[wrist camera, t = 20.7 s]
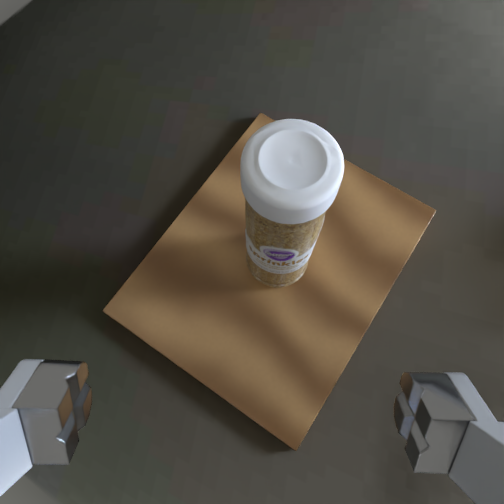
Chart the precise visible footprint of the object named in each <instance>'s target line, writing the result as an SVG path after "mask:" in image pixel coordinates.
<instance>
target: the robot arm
mask: <svg viewBox="0 0 504 504" xmlns="http://www.w3.org/2000/svg"><path fill="white" fill-rule="evenodd" d="M88 375H89V372H88V367H87V363H85V362H82V361H64V360H46V359H45V360H38V359H24V360H22V361H20V362H19V363H18V365H17V366H16V367H15V369H14V370H13V372H12V373H11V374H10V376H9V377H8V379H7V380H6V381H5V383H4V384H3V386H2V387H1V388H0V496H1V495H2V494H3V493H4V492H6V491H7V490H8V489H9V488H10V487H11V486H12V485H13V484H14V483H15V482H16V481H17V480H19V479H20V478H21V477H22V476H23V475H24V474H25V473H26V472H27V471H28V470H30V469H31V468H32V465H68V464H70V461H71V459H72V456H73V454H74V452H75V449H76V447H77V445H78V442H79V436H78V431H79V430H80V429H82V428H83V427H84V426H85V425H86V423H87V420H88V418H89V415H90V410H91V405H92V391H91V387H90V386H89V385H88V384H87V383H86V382H85V381H86V379H87V377H88ZM400 385H401V388H402V390H403V391H402V392H400V393H399V394H398V395H397V396H396V398H395V403H394V420H395V424H396V427H397V430H398V433H399V434H400V435H401V436H402V437H403V438H405V439H406V440H407V443H406V446H405V451H406V453H407V456H408V458H409V461H410V463H411V466H412V468H413V471H414V473H433V474H449V477H450V478H451V479H452V480H453V481H454V482H455V483H456V484H457V485H458V486H459V487H460V488H461V489H462V490H463V491H464V492H465V493H466V494H467V495H468V496H469V498H470V499H471V500H472V501H473V502H474V503H475V504H504V422H498V421H497V420H496V418H495V417H494V415H493V414H492V412H491V411H490V409H489V408H488V407H487V405H486V404H485V402H484V401H483V399H482V398H481V396H480V395H479V393H478V392H477V390H476V389H475V387H474V386H473V384H472V383H471V381H470V380H469V378H468V377H467V375H465V374H464V373H459V372H443V373H439V372H404V373H403V375H402V376H401V380H400Z"/></svg>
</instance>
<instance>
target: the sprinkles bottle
mask: <svg viewBox="0 0 504 504" xmlns="http://www.w3.org/2000/svg"><path fill="white" fill-rule="evenodd" d="M343 174H344V158H343V154H342V151H341V149H340V147H339V145H338V143H337V142H336V140H335V139H334V138H333V137H332V136H331V135H330V134H329V133H328V132H327V131H326V130H324V129H323V128H321V127H320V126H318V125H316V124H314V123H311V122H308V121H305V120H300V119H283V120H278V121H274V122H271V123H269V124H266V125H265V126H263V127H261V128H260V129H258V130H257V131H256V132H255V133H254V134H253V135H252V136H251V137H250V138H249V140H248V141H247V143H246V145H245V147H244V149H243V152H242V155H241V165H240V176H241V188H242V191H243V194H244V196H245V218H246V229H245V233H246V248H247V252H246V262H247V267H248V269H249V271H250V273H251V274H252V276H253V277H254V278H255V279H256V280H258V281H259V282H261V283H262V284H265V285H267V286H270V287H275V288H280V287H286V286H289V285H291V284H293V283H295V282H296V281H298V280H299V279H300V278H301V277H302V275H303V274H304V273H305V270H306V268H307V265H308V260H309V258H310V256H311V254H312V251H313V248H314V246H315V243H316V241H317V238H318V236H319V233H320V230H321V228H322V225H323V222H324V217H325V213H326V210H327V209H328V208H329V207H330V206H331V204H332V203H333V201H334V200H335V197H336V195H337V193H338V190H339V187H340V184H341V181H342V178H343Z"/></svg>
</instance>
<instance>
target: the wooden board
mask: <svg viewBox="0 0 504 504" xmlns="http://www.w3.org/2000/svg"><path fill="white" fill-rule="evenodd" d="M274 121H275V120H273V119H271V118H269V117H267V116H265V115H264V114H262V113H260V114H259V115H258V116H257V118H256V119H255V120H254V121H253V123H252V124H251V125H250V126H249V128H248V129H247V130H246V131H245V133H244V134H243V135H242V136H241V138H240V139H239V140H238V141H237V143H236V144H235V145H234V146H233V148H232V149H231V150H230V151H229V153H228V154H227V155H226V156H225V158H224V159H223V160H222V161H221V163H220V164H219V165H218V167H217V168H216V169H215V170H214V172H213V173H212V174H211V175H210V177H209V178H208V179H207V180H206V182H205V183H204V184H203V185H202V187H201V188H200V189H199V190H198V192H197V193H196V194H195V195H194V197H193V198H192V199H191V200H190V202H189V203H188V204H187V205H186V207H185V208H184V209H183V210H182V212H181V213H180V214H179V215H178V217H177V218H176V219H175V220H174V222H173V223H172V224H171V225H170V227H169V228H168V229H167V230H166V232H165V233H164V234H163V236H162V237H161V238H160V239H159V241H158V242H157V243H156V244H155V246H154V247H153V248H152V249H151V251H150V252H149V253H148V254H147V256H146V257H145V258H144V259H143V261H142V262H141V263H140V264H139V266H138V267H137V268H136V269H135V271H134V272H133V273H132V274H131V276H130V277H129V278H128V279H127V281H126V282H125V283H124V284H123V286H122V287H121V288H120V289H119V291H118V292H117V293H116V294H115V296H114V297H113V298H112V300H111V301H110V302H109V303H108V305H107V306H106V307H105V308H104V310H103V312H104V313H106V314H107V315H108V316H110V317H111V318H113V319H114V320H115V321H117V322H118V323H119V324H121V325H122V326H124V327H125V328H126V329H128V330H129V331H130V332H132V333H133V334H135V335H136V336H137V337H139V338H140V339H142V340H143V341H144V342H146V343H147V344H148V345H150V346H151V347H153V348H154V349H155V350H157V351H158V352H159V353H161V354H162V355H164V356H165V357H166V358H168V359H169V360H170V361H172V362H173V363H175V364H176V365H177V366H179V367H180V368H181V369H183V370H184V371H186V372H187V373H188V374H190V375H191V376H193V377H194V378H195V379H197V380H198V381H199V382H201V383H202V384H204V385H205V386H206V387H208V388H209V389H210V390H212V391H213V392H215V393H216V394H217V395H219V396H220V397H221V398H223V399H224V400H226V401H227V402H228V403H230V404H231V405H233V406H234V407H235V408H237V409H238V410H239V411H241V412H242V413H244V414H245V415H246V416H248V417H249V418H250V419H252V420H253V421H255V422H256V423H257V424H259V425H260V426H261V427H263V428H264V429H266V430H267V431H268V432H270V433H271V434H272V435H274V436H275V437H277V438H278V439H279V440H281V441H282V442H284V443H285V444H286V445H288V446H289V447H290V448H292V449H293V450H295V451H297V449H298V447H299V446H300V444H301V442H302V440H303V439H304V437H305V435H306V434H307V432H308V430H309V428H310V427H311V425H312V423H313V422H314V420H315V418H316V416H317V415H318V413H319V411H320V410H321V408H322V406H323V404H324V403H325V401H326V399H327V398H328V396H329V394H330V392H331V391H332V389H333V387H334V386H335V384H336V382H337V380H338V379H339V377H340V375H341V374H342V372H343V370H344V368H345V367H346V365H347V363H348V362H349V360H350V358H351V356H352V355H353V353H354V351H355V350H356V348H357V346H358V344H359V343H360V341H361V339H362V338H363V336H364V334H365V332H366V331H367V329H368V327H369V326H370V324H371V322H372V320H373V319H374V317H375V315H376V314H377V312H378V310H379V308H380V307H381V305H382V303H383V302H384V300H385V298H386V296H387V295H388V293H389V291H390V290H391V288H392V286H393V284H394V283H395V281H396V279H397V278H398V276H399V274H400V272H401V271H402V269H403V267H404V266H405V264H406V262H407V260H408V259H409V257H410V255H411V254H412V252H413V250H414V248H415V247H416V245H417V243H418V242H419V240H420V238H421V236H422V235H423V233H424V231H425V230H426V228H427V226H428V224H429V223H430V221H431V219H432V218H433V216H434V214H435V212H436V210H435V209H433V208H431V207H429V206H428V205H426V204H424V203H422V202H420V201H419V200H417V199H415V198H413V197H411V196H410V195H408V194H406V193H404V192H402V191H401V190H399V189H397V188H395V187H393V186H392V185H390V184H388V183H386V182H384V181H383V180H381V179H379V178H377V177H375V176H374V175H372V174H370V173H368V172H366V171H365V170H363V169H361V168H359V167H357V166H356V165H354V164H352V163H350V162H348V161H347V160H345V159H344V174H343V178H342V181H341V184H340V187H339V190H338V193H337V195H336V197H335V200H334V201H333V203H332V204H331V206H330V207H329V208H328V209H327V210H326V213H325V217H324V222H323V225H322V228H321V230H320V233H319V236H318V238H317V241H316V243H315V246H314V248H313V251H312V254H311V256H310V258H309V260H308V265H307V268H306V270H305V273H304V274H303V275H302V277H301V278H300V279H299V280H298V281H296V282H295V283H293V284H291V285H289V286H286V287H280V288H275V287H270V286H267V285H265V284H262V283H261V282H259V281H258V280H256V279H255V278H254V277H253V276H252V274H251V273H250V271H249V269H248V267H247V262H246V252H247V248H246V233H245V229H246V218H245V196H244V194H243V191H242V188H241V176H240V165H241V155H242V152H243V149H244V147H245V145H246V143H247V141H248V140H249V138H250V137H251V136H252V135H253V134H254V133H255V132H256V131H257V130H258V129H260V128H261V127H263V126H265V125H266V124H269V123H271V122H274Z"/></svg>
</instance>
